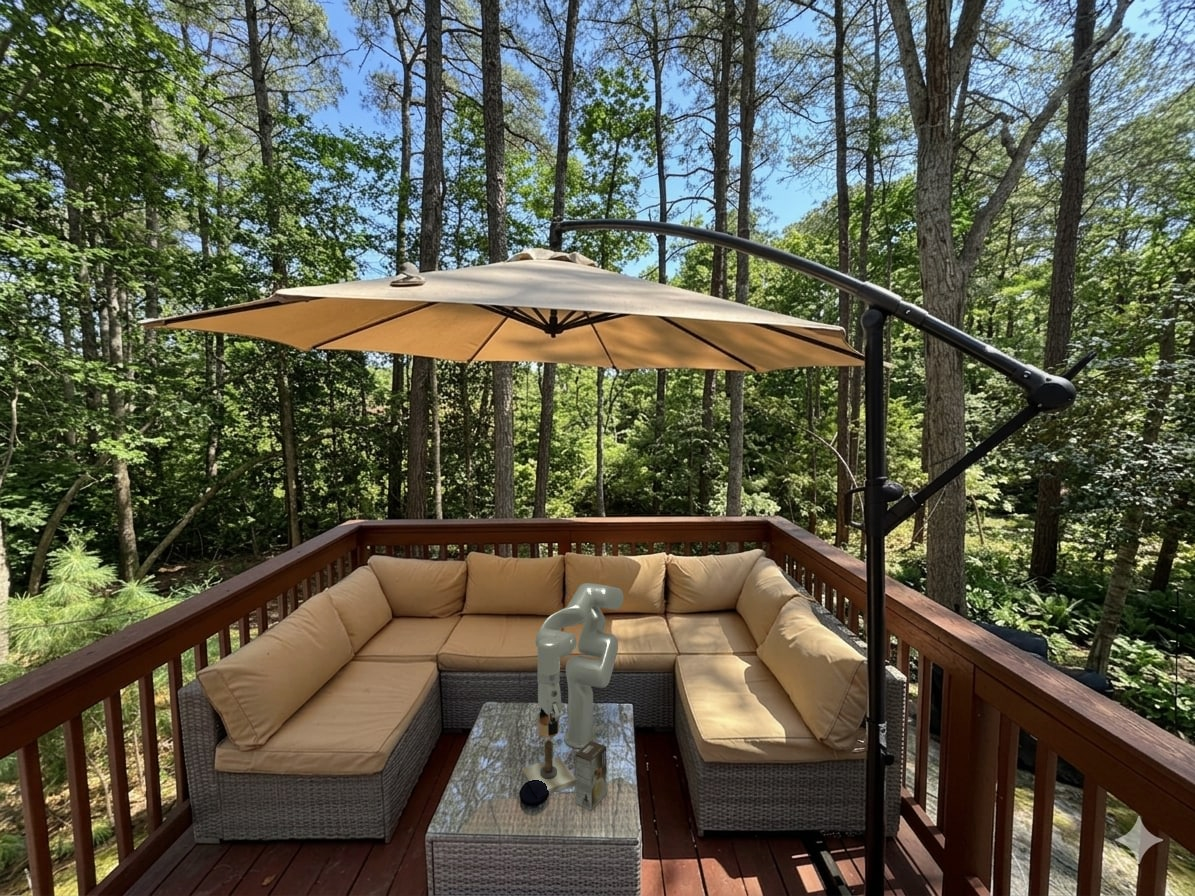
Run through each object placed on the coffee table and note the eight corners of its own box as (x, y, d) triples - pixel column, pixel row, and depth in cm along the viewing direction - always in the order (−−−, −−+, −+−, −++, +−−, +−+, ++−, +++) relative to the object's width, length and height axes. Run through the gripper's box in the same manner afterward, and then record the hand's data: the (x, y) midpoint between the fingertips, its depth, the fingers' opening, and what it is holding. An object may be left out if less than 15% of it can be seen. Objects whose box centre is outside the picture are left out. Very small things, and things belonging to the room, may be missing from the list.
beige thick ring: (553, 724, 180) (553, 712, 180) (562, 734, 174) (562, 722, 174) (534, 729, 177) (534, 717, 177) (542, 739, 171) (542, 727, 170)
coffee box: (590, 787, 172) (590, 739, 172) (607, 794, 169) (607, 745, 168) (574, 803, 164) (575, 753, 164) (591, 811, 161) (592, 760, 161)
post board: (559, 762, 185) (559, 725, 185) (576, 785, 173) (576, 746, 173) (521, 774, 179) (521, 735, 178) (536, 799, 166) (537, 758, 166)
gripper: (569, 684, 169) (569, 738, 169) (548, 664, 184) (548, 713, 185) (548, 689, 166) (548, 744, 166) (529, 668, 181) (528, 719, 181)
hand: (548, 728), depth 175 cm, fingers closed on beige thick ring, 7 cm apart
